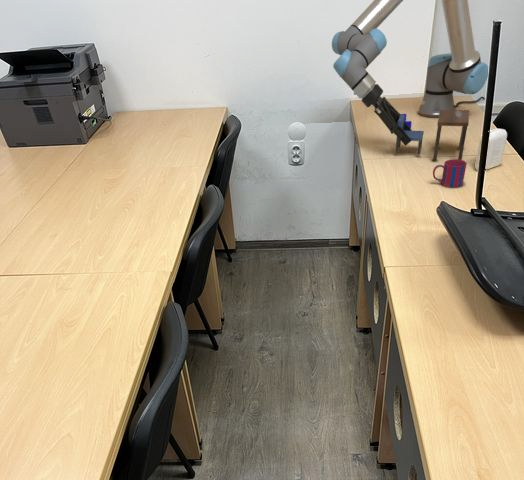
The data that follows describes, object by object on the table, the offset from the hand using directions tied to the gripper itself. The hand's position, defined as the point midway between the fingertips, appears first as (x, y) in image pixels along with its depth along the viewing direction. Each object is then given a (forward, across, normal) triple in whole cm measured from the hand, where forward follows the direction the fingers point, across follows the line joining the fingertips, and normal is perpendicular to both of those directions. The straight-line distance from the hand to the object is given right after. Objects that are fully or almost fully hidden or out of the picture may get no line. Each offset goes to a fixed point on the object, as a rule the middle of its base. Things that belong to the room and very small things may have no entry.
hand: (409, 139), depth 192 cm
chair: (+3, 0, -3) cm, 4 cm away
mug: (+14, +28, +7) cm, 32 cm away
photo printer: (+23, +11, +16) cm, 30 cm away
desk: (+14, 0, +6) cm, 15 cm away
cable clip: (0, -23, -7) cm, 24 cm away
